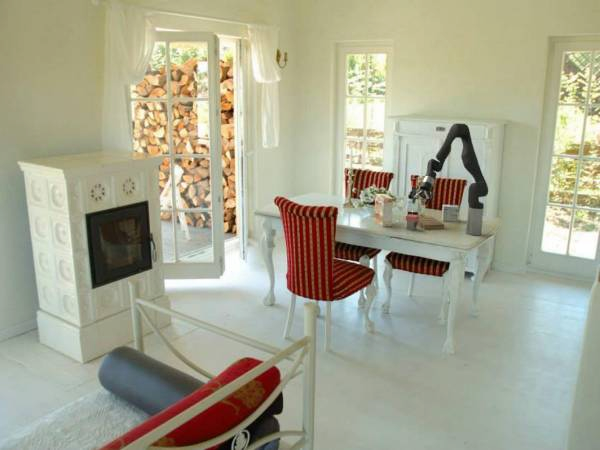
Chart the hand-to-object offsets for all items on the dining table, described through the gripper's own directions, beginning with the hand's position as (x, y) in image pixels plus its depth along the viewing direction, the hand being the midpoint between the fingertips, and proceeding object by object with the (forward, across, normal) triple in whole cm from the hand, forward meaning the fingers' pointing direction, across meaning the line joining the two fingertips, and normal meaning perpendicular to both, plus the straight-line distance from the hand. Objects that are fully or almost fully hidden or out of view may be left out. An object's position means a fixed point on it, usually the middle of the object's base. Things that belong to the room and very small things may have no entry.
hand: (419, 203), depth 381 cm
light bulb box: (-10, +11, +32) cm, 35 cm away
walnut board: (+6, +4, +16) cm, 17 cm away
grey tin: (+18, 0, +4) cm, 18 cm away
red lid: (+14, 0, 0) cm, 14 cm away
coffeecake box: (+18, -21, +4) cm, 28 cm away
